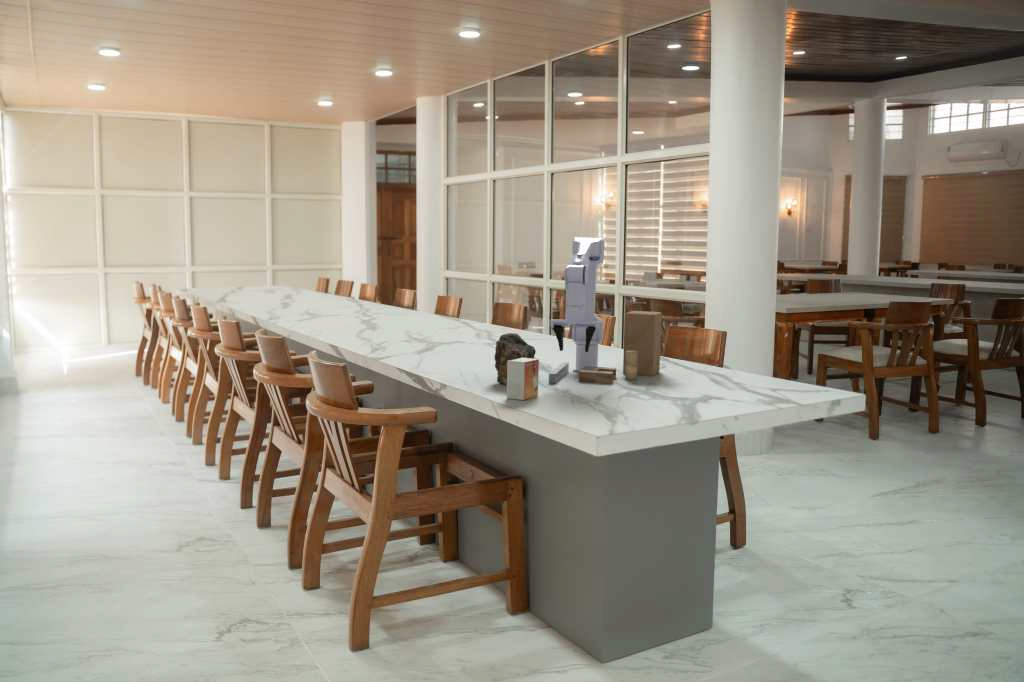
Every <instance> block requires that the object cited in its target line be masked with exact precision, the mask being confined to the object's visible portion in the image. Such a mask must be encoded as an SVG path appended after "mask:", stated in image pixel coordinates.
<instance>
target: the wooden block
mask: <svg viewBox="0 0 1024 682" xmlns="http://www.w3.org/2000/svg"><path fill="white" fill-rule="evenodd" d="M662 314H663V313H662V312H660V311H645V310H631V311H628V312H626V313H625V314H624V334H623V336H624V337H623V359H622V360H623V361H622V362H623V363H622V365H623V366H622V374H623V375H625V368H626V351H638V359H637V376H647V377H653V376H655V375H657V374H659V373H660V367H661V366H660V365H661V341H662V340H661V338H662V337H661V336H662V316H663V315H662Z"/></svg>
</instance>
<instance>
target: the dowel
mask: <svg viewBox="0 0 1024 682" xmlns="http://www.w3.org/2000/svg"><path fill="white" fill-rule="evenodd" d="M637 359H638V351H626V368H625V374H624V380H625V381H630V382H634V381H635V382H637V381H638V375H637Z"/></svg>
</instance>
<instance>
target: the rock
mask: <svg viewBox="0 0 1024 682" xmlns="http://www.w3.org/2000/svg"><path fill="white" fill-rule="evenodd" d="M536 353H537V351H536V349H535V347H534V346H533V345H530V344H528V343H527V342H526V341H525V340H524V339H523V338H522V337H521V336H520V335H519V334H518V333H516V332H515V333H512V332H511V333H510V332H509V333H504V334H501V335H500V336H499V339H498V340H497V341H496V343H495V354H494V361H495V364H494V368H495V370H496V371H497V378H496V380H497V383H500V384H503V385H505V386H506V387H507V361H508V360H515V359H519V358H532V359H535V355H536Z"/></svg>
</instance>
